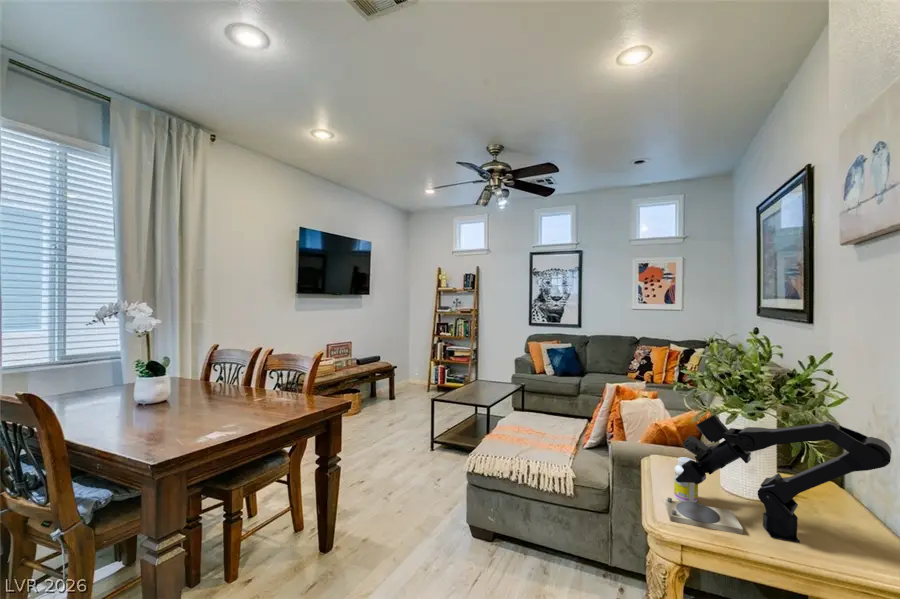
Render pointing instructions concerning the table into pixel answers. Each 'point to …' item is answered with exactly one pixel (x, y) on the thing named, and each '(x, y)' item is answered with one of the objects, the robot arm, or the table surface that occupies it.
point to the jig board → (702, 516)
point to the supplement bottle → (684, 485)
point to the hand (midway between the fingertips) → (681, 477)
